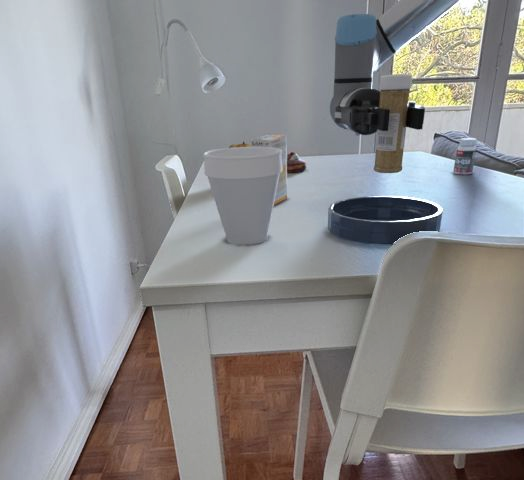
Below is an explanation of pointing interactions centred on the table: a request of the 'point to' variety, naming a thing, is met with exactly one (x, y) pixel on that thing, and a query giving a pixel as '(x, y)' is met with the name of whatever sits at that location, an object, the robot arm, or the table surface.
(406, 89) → the sprinkles bottle
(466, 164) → the pill bottle
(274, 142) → the supplement box
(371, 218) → the dark blue round dish
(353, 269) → the table surface
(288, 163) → the pastry
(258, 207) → the white flower pot
